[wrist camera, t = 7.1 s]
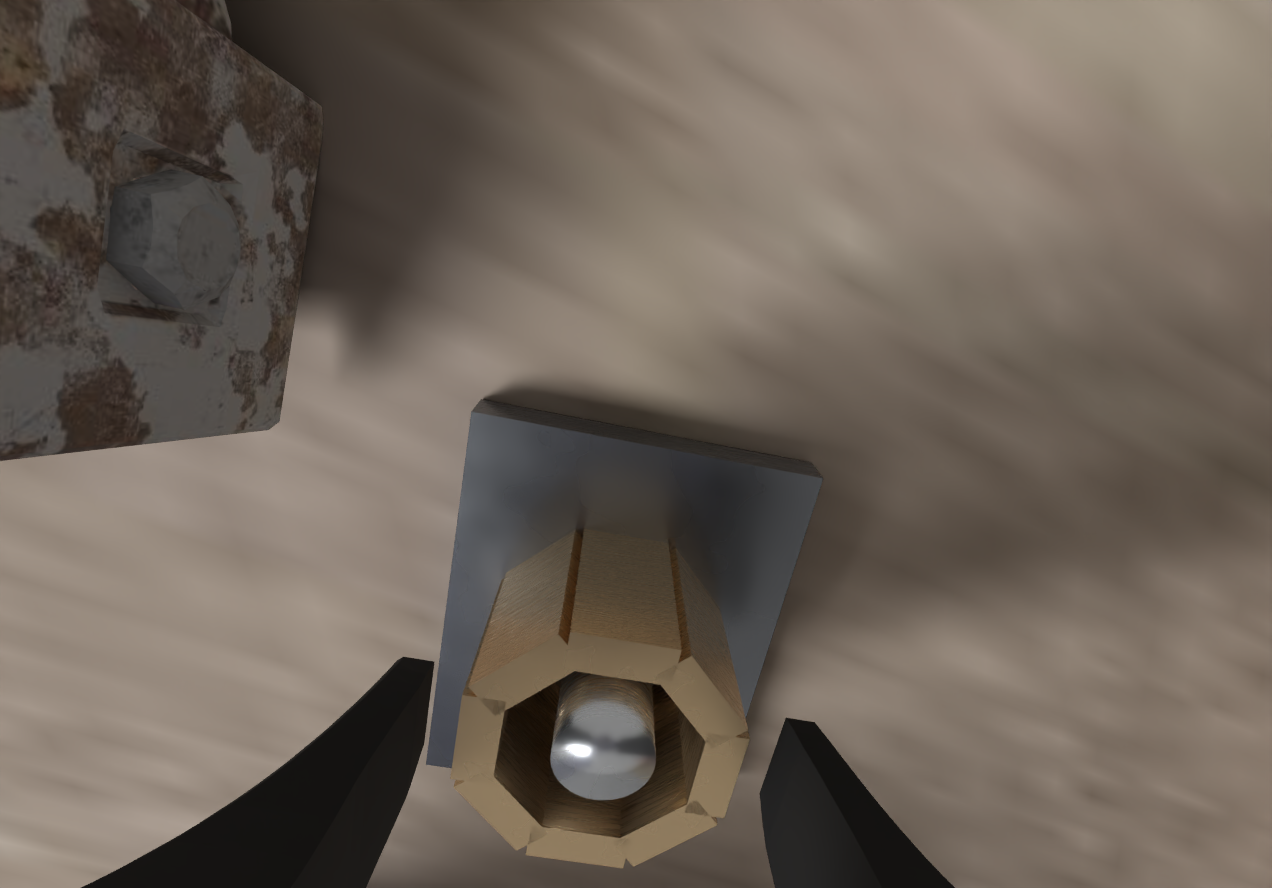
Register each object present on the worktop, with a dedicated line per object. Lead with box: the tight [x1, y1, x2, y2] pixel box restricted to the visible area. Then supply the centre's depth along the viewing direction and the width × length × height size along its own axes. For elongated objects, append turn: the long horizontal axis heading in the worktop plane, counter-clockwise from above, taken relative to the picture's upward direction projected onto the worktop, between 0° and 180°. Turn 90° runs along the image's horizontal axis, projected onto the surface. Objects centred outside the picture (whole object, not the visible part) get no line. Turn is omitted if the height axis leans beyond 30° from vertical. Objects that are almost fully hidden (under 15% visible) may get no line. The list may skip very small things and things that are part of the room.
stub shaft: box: [426, 399, 823, 800], centre depth 15 cm, size 10×8×5 cm
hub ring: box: [450, 529, 750, 868], centre depth 14 cm, size 5×5×4 cm
